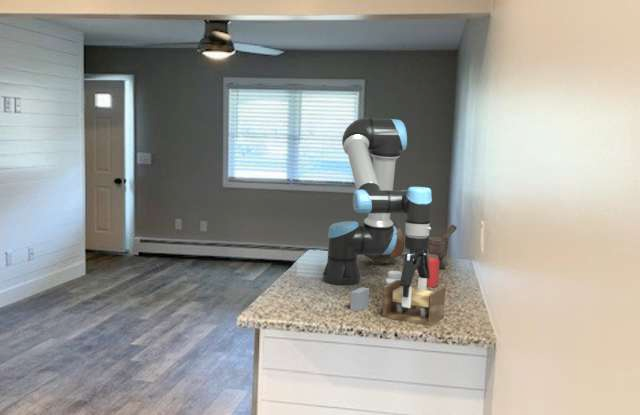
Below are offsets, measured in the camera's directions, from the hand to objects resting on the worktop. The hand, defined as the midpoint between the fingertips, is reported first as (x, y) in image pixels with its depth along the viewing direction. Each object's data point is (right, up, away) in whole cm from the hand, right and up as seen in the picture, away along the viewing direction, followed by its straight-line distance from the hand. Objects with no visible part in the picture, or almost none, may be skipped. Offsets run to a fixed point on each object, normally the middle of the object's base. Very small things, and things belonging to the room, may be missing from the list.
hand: (414, 302), depth 191 cm
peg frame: (0, -5, +1) cm, 5 cm away
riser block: (-17, -3, +10) cm, 20 cm away
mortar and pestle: (+24, +3, +79) cm, 83 cm away
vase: (-2, +4, +82) cm, 83 cm away
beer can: (+13, -1, +44) cm, 46 cm away
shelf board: (0, 0, 0) cm, 0 cm away
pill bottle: (-5, -3, +15) cm, 16 cm away
